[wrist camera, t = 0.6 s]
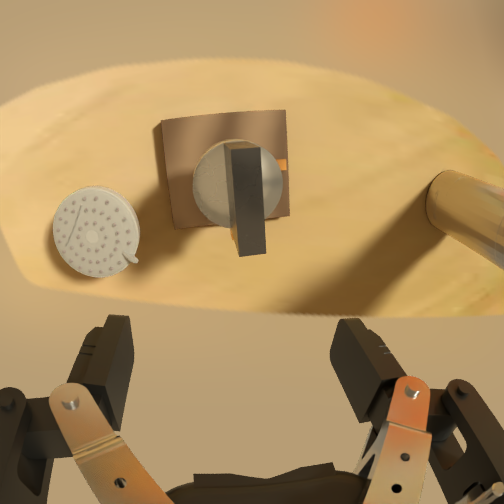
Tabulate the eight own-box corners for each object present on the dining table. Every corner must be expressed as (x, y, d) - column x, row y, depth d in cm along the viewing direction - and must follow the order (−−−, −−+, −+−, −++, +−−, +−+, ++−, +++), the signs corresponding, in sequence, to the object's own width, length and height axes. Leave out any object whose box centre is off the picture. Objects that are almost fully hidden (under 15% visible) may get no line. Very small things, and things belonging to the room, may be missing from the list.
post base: (281, 110, 32) (303, 108, 26) (286, 212, 37) (306, 234, 31) (162, 120, 31) (152, 120, 24) (175, 225, 36) (170, 250, 29)
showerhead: (120, 299, 30) (38, 256, 27) (131, 268, 37) (63, 232, 34) (158, 222, 28) (67, 173, 25) (166, 202, 35) (91, 162, 31)
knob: (273, 135, 26) (303, 143, 19) (277, 227, 29) (304, 265, 22) (189, 143, 25) (184, 152, 18) (199, 236, 29) (201, 279, 21)
